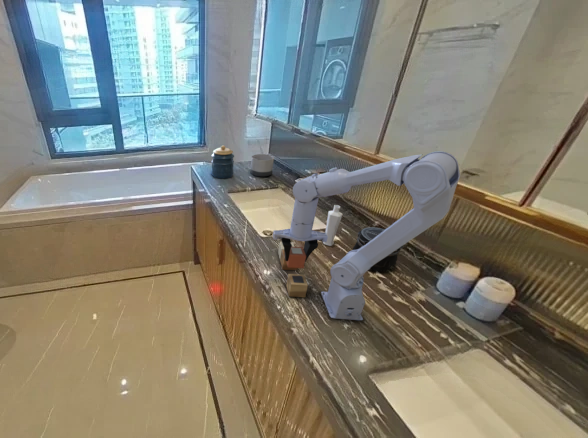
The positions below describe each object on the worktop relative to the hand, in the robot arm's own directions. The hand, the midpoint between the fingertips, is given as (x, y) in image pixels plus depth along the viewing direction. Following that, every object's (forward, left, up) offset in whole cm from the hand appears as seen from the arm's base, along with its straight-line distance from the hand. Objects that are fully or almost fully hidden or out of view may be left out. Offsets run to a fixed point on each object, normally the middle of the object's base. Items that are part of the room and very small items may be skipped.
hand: (295, 259), depth 84 cm
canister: (+91, +24, -7) cm, 94 cm away
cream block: (+11, 0, -7) cm, 13 cm away
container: (+11, -28, -7) cm, 31 cm away
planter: (+94, +1, -7) cm, 94 cm away
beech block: (+6, 0, -7) cm, 9 cm away
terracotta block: (0, 0, -1) cm, 1 cm away
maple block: (-6, 0, -7) cm, 9 cm away
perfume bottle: (+21, -17, -7) cm, 28 cm away
